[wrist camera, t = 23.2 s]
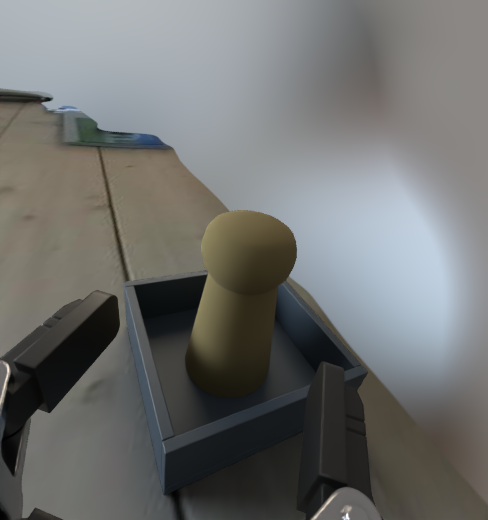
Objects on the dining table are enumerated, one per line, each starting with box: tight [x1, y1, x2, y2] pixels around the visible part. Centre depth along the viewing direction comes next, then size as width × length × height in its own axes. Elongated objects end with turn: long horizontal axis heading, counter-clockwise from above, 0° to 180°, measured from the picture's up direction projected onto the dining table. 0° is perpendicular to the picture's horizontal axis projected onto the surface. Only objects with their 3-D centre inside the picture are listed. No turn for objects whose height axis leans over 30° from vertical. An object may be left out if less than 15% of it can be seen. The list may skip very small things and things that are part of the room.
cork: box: [185, 210, 297, 398], centre depth 18 cm, size 6×6×11 cm
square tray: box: [124, 270, 368, 495], centre depth 21 cm, size 12×12×4 cm
